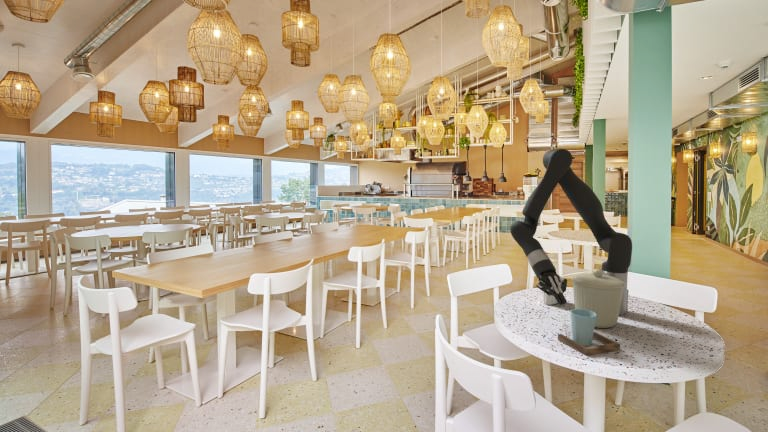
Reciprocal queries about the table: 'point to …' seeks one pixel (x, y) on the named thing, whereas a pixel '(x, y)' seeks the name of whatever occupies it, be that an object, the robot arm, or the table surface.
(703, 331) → the table surface
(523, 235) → the robot arm
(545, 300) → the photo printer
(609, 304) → the canister
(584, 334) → the cup
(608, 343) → the walnut bay
